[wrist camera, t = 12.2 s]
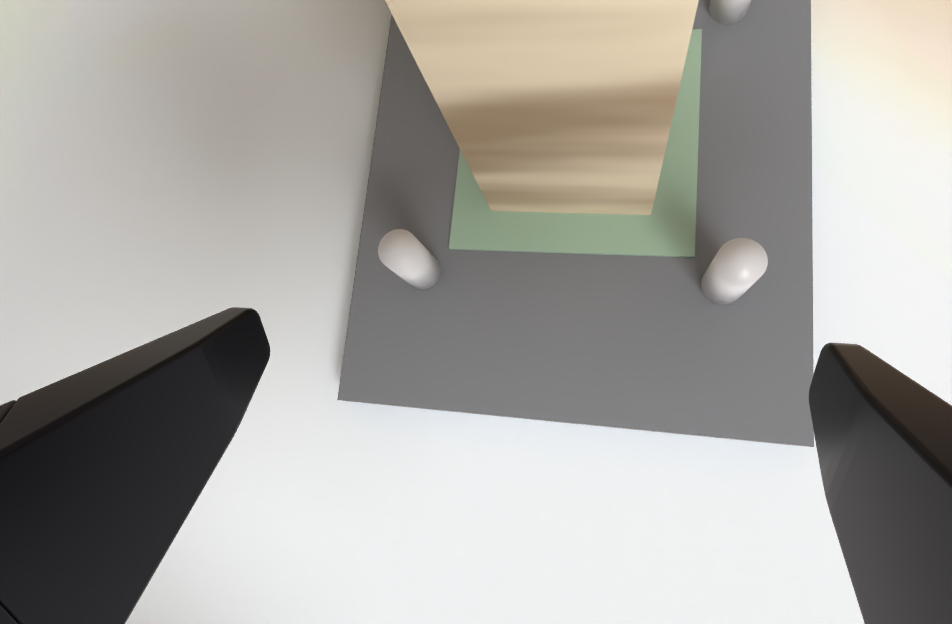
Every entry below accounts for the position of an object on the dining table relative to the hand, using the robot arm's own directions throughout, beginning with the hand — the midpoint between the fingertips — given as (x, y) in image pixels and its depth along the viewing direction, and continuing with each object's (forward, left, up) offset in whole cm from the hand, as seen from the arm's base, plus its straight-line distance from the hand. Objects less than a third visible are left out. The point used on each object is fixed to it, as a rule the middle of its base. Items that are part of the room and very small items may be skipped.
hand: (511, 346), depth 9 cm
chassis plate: (+8, 0, -9) cm, 12 cm away
